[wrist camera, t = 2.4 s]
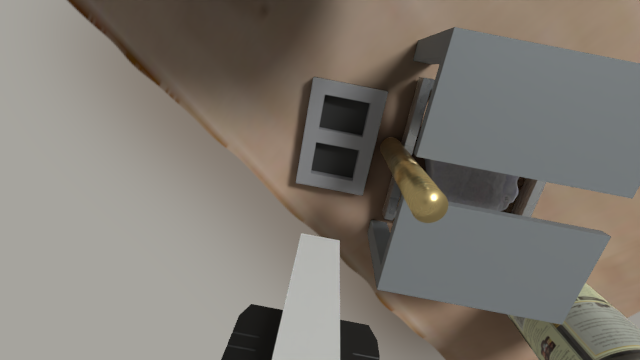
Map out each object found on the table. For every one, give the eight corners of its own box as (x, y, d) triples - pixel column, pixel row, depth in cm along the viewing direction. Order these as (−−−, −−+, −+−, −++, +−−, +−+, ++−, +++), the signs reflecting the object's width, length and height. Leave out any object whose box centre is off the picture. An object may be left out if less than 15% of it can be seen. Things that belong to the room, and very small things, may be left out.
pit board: (314, 76, 35) (313, 77, 33) (386, 90, 35) (388, 91, 33) (297, 178, 39) (295, 182, 37) (361, 191, 39) (362, 195, 37)
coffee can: (590, 317, 43) (702, 428, 30) (511, 336, 45) (584, 449, 31) (580, 255, 40) (700, 347, 27) (496, 277, 42) (569, 375, 28)
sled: (398, 73, 34) (450, 76, 18) (566, 106, 34) (760, 137, 18) (364, 208, 39) (381, 301, 23) (509, 236, 39) (622, 346, 24)
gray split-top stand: (418, 40, 33) (454, 27, 23) (587, 73, 33) (701, 75, 23) (367, 233, 41) (377, 289, 30) (505, 259, 41) (562, 324, 30)
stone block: (494, 100, 36) (410, 122, 35) (526, 103, 32) (431, 129, 31) (499, 194, 40) (424, 216, 39) (528, 209, 36) (444, 234, 35)
